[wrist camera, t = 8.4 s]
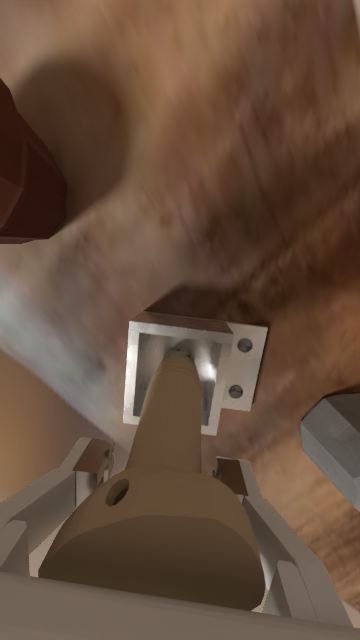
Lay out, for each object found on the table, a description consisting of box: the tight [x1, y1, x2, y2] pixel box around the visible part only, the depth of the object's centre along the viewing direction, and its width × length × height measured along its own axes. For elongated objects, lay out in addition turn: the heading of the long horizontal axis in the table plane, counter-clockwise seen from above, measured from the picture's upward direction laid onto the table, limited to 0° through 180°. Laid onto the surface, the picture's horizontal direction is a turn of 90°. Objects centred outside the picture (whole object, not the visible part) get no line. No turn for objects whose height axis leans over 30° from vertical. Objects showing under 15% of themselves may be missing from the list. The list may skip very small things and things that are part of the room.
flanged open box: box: [123, 311, 268, 436], centre depth 19 cm, size 9×12×5 cm
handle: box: [38, 349, 266, 611], centre depth 13 cm, size 5×6×15 cm
